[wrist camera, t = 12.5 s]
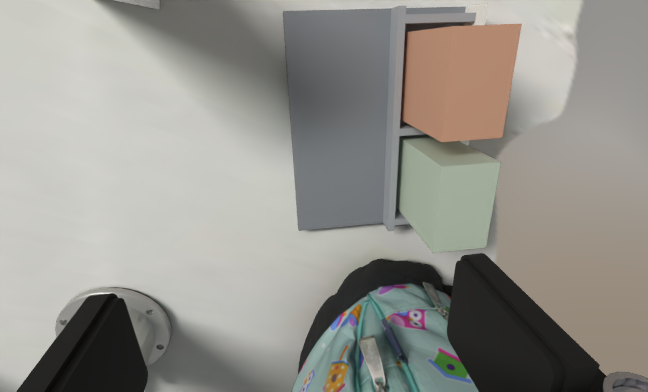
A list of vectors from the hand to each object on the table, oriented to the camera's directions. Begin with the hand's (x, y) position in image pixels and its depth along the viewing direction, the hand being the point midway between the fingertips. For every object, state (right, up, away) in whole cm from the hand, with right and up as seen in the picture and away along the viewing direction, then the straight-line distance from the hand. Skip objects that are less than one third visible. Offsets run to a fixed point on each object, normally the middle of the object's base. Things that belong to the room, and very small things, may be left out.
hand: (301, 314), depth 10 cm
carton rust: (+11, +15, +24) cm, 31 cm away
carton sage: (+11, +6, +28) cm, 31 cm away
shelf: (+6, +11, +27) cm, 30 cm away
